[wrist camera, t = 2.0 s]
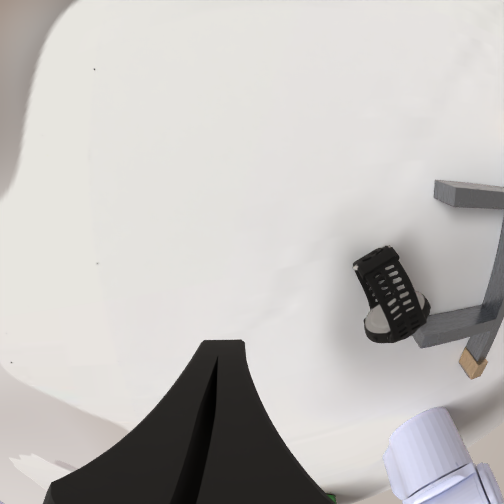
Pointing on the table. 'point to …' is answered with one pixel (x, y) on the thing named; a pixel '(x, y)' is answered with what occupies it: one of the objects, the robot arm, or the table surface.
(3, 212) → the table surface
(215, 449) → the robot arm
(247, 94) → the table surface
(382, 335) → the smartwatch
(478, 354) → the bracket
